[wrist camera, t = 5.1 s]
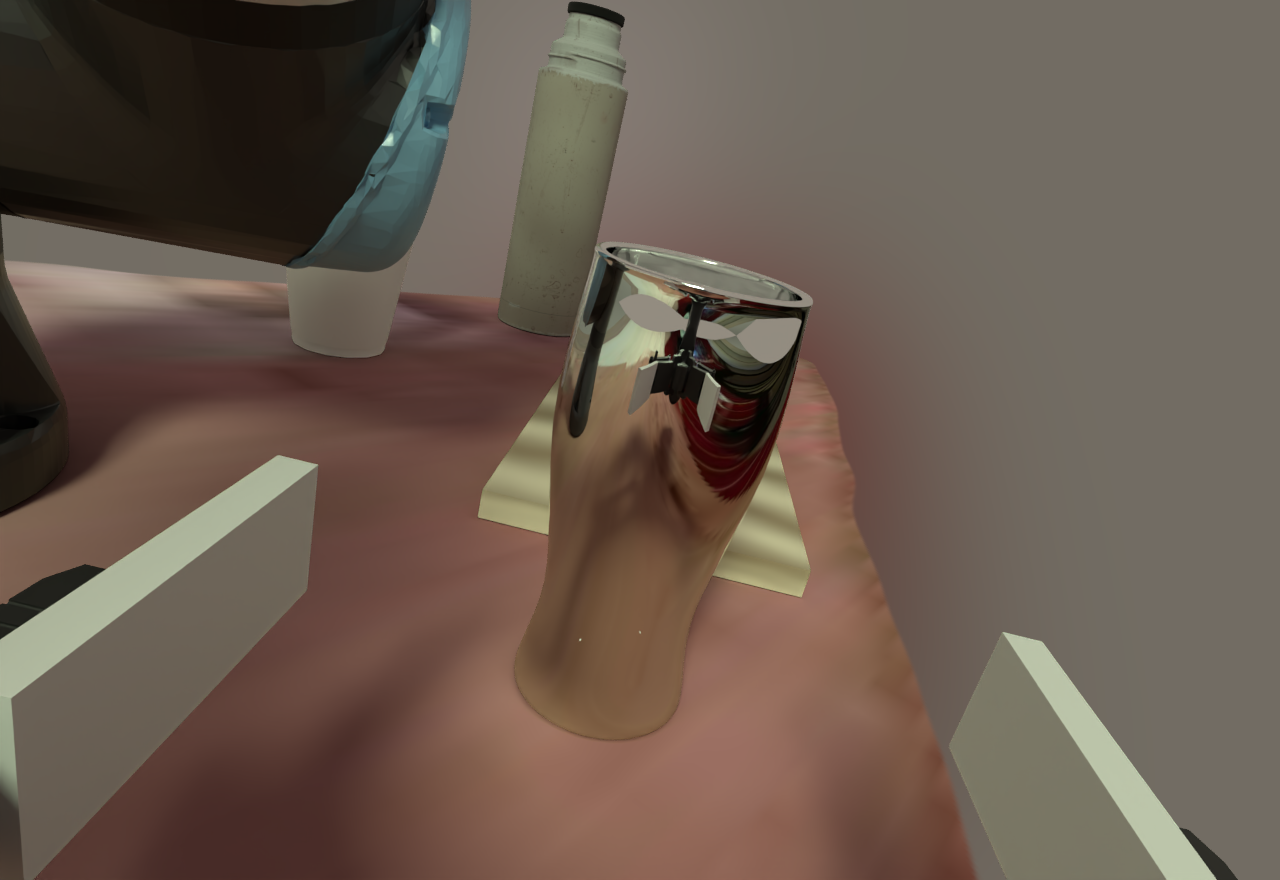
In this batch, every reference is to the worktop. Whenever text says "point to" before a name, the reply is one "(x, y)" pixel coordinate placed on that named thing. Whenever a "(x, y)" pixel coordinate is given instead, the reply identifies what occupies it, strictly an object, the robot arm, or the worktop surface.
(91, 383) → the worktop surface
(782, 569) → the board
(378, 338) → the foam cup
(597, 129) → the thermos bottle
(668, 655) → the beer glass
